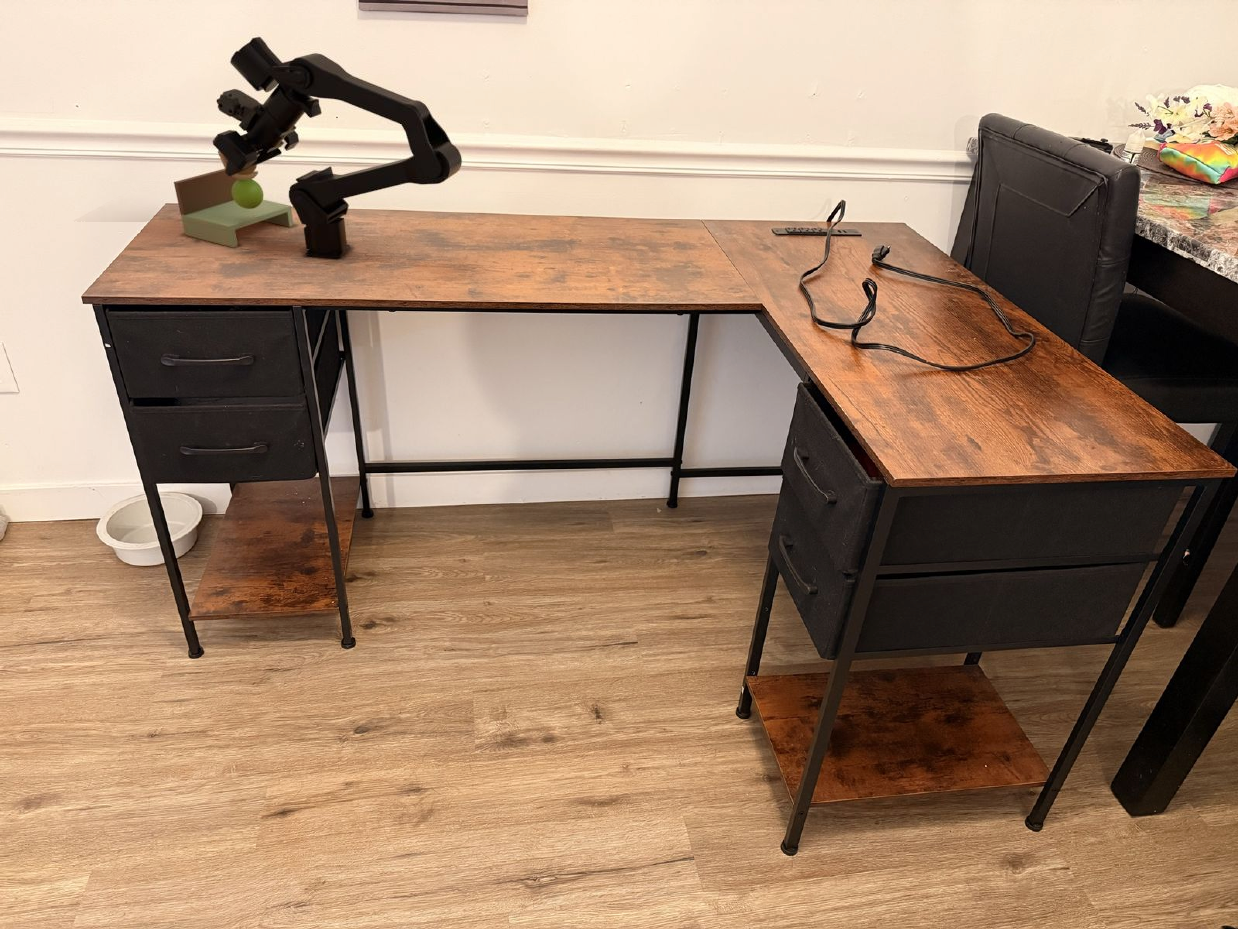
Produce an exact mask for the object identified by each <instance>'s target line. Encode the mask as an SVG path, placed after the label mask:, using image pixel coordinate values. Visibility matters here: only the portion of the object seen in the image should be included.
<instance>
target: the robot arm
mask: <svg viewBox="0 0 1238 929" xmlns="http://www.w3.org/2000/svg"><path fill="white" fill-rule="evenodd" d="M229 63H230V65H231V66H232V67H233V68H234V69H235V70H236V72H238V73H239V74H240V75H241V77H242V78H243V79H245V81H246V82H247V83H248V84H249V85H250V86H251V87H252V88H253V89H254V90H255V92H260V91H264V92H265V93H269V92H271V91H272V92H271V94H270V95H269V96H268V97H267V99H266V100H265V101H264V103H261V102H259V100H257V99H255V98H254V97H252V96H251V95H249V94H247V93H245V92H244V91H242V90H240V89H238V88H233V89H228V90H225V91H223V92H222V93H221V94H220V95H219V98H217V99H216V104H217V108H218V111H220V112H221V113H223V114H224V115H226V116H228V117H230V118H231V117H232V118H233V119H234V120H237V121H238V122H240V123H239V124H238V127H239V128H240V129H241V130H242V131H244V132H246V133H244V134H240V133H239V132H238V131H237V130H234V129H233V130H232V129H228V130H225V131H222V132H219V133H217V134H216V136H215V137H214V138H213V140H212V145H213V146H214V147H215V148H216V149H217V150H219V151H220V152H221V153H222V154H223V155H224V156H225V157H226V158H227V159H228V162H227V166H226V170H225V173H226V174H227V175H228V176H229V177H230V176H232V175H235V174H237V173H239V172H241V171H244V170H246V169H248V168H250V167H253V166H255V165H257V166H258V165H261V164H262V163H265V162H267V161H269V160H272V159H274V158H276V157H278V156H280V155H282V152H283V151H282V150H281V149H280V148H281V147H282V146H284V150H285V151H290V150H292V149H295V147H296V146H297V145H298V144H299V143H300V138H299V133H297V131H296V130H297V126H296V124H297V123H298V122H299V120H300V119H301V118H302V116H303V115H304V114H305V115H306V116H307V117H308V118H309V119H312V118H315V117H317V116H320V115H322V113H323V112H322V109H321V105H320V99H326V100H327V99H328V100H336V101H341V102H343V103H346V104H348V105H351V106H354V107H356V108H359V109H361V110H364V111H366V112H369V113H372V114H373V115H377V116H378V117H381V118H384V119H386V120H389V121H391V122H394V123H396V124H399V125H401V127H402V129H403V130H404V132H405V135H406V139H407V142H408V146H409V149H410V152H411V154H412V155H411V156H409V157H407V158H402V159H399V160H395V161H391V162H387V163H383V164H379V165H376V166H372V167H371V166H370V167H367V168H364V169H359V170H356V171H351V172H347V173H343V174H336V173H334V172H333V169H332V165H331V166H328V167H326V168H324V169H321V170H317V169H313V170H311V171H309V172H307V173H305V174H304V175H300V176H299V177H297V178H295V181H296V182H295V183H293V184H291V185H290V186H289V190H288V200H289V203H290V204H291V207H293V208H294V211H295V212H296V214H297V216H298V219H299V221H300V223H301V225H304V227H303V235H304V241H305V243H304V244H305V248H306V250H307V251H306V252H305V255H306V256H307V257H319V258H331V259H341V258H342V257H344V255H345V254H346V253H347V252H348V251H349V250H350V249H351V245H350V244H348V242H347V231H346V222H345V217H343V216H346V215H347V214H348V211H349V207H350V205H349V203H348V202H347V201H346V199H347V198H352V197H356V196H359V195H363V194H368V193H372V192H376V191H380V190H384V189H389V188H394V187H397V186H401V185H404V184H414V185H439V184H441V183H444V182H445V181H446V180H448V179H450V178H451V177H453V176H454V175H455V174H457V173H458V172H459V171H460V170H461V168H462V163H463V159H462V154H461V152H460V149H458V148H457V147H456V146H455V144H453V143H452V141H451V139H450V138H449V136H448V134H447V132H446V131H445V130H444V129H443V127H442V125H440V124H439V123H438V122H437V120H436V119H435V118H434V117H433V115H432V113H431V111H430V109H429V107H428V106H427V105H426V104H425V103H424V102H422V101H420V100H416V99H412V98H409V97H407V96H404V95H402V94H399V93H396V92H394V91H393V90H392V91H391V90H389V89H386V88H384V87H382V86H379V85H376V84H374V83H371V82H369V81H367V80H364V79H362V78H360V77H357V76H354V75H353V74H350V73H349V72H348V71H346V70H345V69H344V68H343V67H342V66H341V65H340V64H339V63H337V62H335V61H334V60H332V59H330V58H329V57H327V56H326V55H325V54H321V53H317V52H313V53H310V54H309V53H308V54H306V55H302V56H298V57H294V59H292V60H288V61H284V62H283V61H282V60H280V58H279V57H278V56H277V55H276V54H275V53H274V52H273V51H272V49H270V47H269V46H268V44H267V43H266V41H265V40H264V39H263V38H262V37H261V36H255V37H252V38H251V39H250V41H249V42H247V43H246V44H244V45H243V46H242V47H240V49H238V50H236V51H235V52H234V53H233V54H232V56H231V58H230V61H229ZM284 142H285V143H286V144H285V143H284ZM284 144H285V145H284Z"/></svg>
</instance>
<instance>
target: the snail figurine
mask: <svg viewBox="0 0 1238 929" xmlns="http://www.w3.org/2000/svg"><path fill="white" fill-rule="evenodd" d="M217 150H218V149H217ZM217 154H218V157H219V159H220V161H221V163H222V166H223V168H224V169H226V166H227V162H228V159H227V158H226V157H225V156H224V155H223V154H222V153H221V152H220V151H219V150H218V151H217ZM257 166H258V165H255V166H253V167H250V168H248V169H246V170H244V171H241V172H239V173H237V174H235V175H232V177H234V178H236V179H239V180H237V181H236V182H235V183H234V184H233V186H232V191H231V192H232V197H233V199H234V201H235V202H236V203H237V204H238V205H239V206H241V207H243V208H246V209H253V208H256V207H258V206H259V205H260V204H261V202H262V200H264V190H263V188H262V186H261V185H260V184H259V183H258V182H257V180H255V178H256V177H257V175H258V174H259V171H258V170H257Z"/></svg>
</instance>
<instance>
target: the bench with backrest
mask: <svg viewBox="0 0 1238 929" xmlns="http://www.w3.org/2000/svg"><path fill="white" fill-rule="evenodd" d="M225 170H226V169H225V168H221V169H217V170H214V171H211V172H207V173H203V174H198V175H195V176H192V177H187V178H183V179H180V180H176V181H173V185H174V189H175V194H176V199H177V204H178V208H179V213H180V217H181V218H180V219H181V222H182V227H183V231H184V235H185V236H188V237H191V238H195V239H199V240H203V241H207V242H211V243H215V244H218V245H222V246H225V247H230V248H236V247H238V246H239V245H238V244H239V243H238V240H237V234H236V230H239V229H241V228H245V227H247V226H251V225H254V224H256V223H260V222H268V223H272V224H275V225H280V226H284V227H288V228H291V227H293V226H294V225H295V224H294V218H293V211H292V205H290V204H285V203H280V202H277V201H272V200H268V199H263V200H262V202H261V204H260V205H259V206H258V207H256V208H253V209H246V208H243V207H241V206H239V205H238V204H237V203H236V202H235V201H234V199H233V197H232V192H231V191H232V186H233V184H234V183H235V182H236V181H237V180H239V179H236V178H234V177H232V176H230V177H229V176H228V175H227V174H226V173H225Z"/></svg>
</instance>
